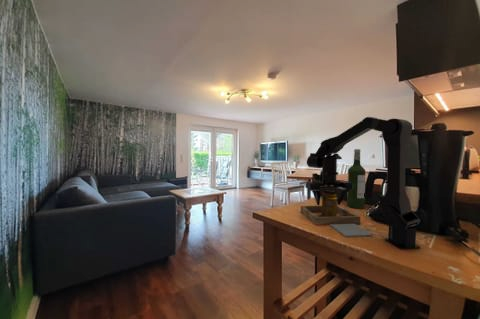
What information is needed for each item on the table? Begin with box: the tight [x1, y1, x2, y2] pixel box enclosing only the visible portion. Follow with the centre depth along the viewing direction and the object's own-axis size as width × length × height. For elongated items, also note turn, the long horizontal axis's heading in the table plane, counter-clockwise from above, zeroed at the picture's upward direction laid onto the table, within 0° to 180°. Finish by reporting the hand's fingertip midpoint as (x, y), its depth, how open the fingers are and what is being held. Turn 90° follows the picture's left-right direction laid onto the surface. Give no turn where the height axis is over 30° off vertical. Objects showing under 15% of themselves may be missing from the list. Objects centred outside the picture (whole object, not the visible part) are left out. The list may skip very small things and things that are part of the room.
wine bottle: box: [346, 148, 366, 210], centre depth 103 cm, size 8×8×30 cm
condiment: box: [318, 189, 338, 217], centre depth 87 cm, size 7×8×12 cm
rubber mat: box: [329, 224, 374, 238], centre depth 74 cm, size 10×10×1 cm
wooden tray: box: [300, 204, 361, 226], centre depth 87 cm, size 16×18×3 cm
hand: (328, 204), depth 87 cm, fingers open, 9 cm apart
